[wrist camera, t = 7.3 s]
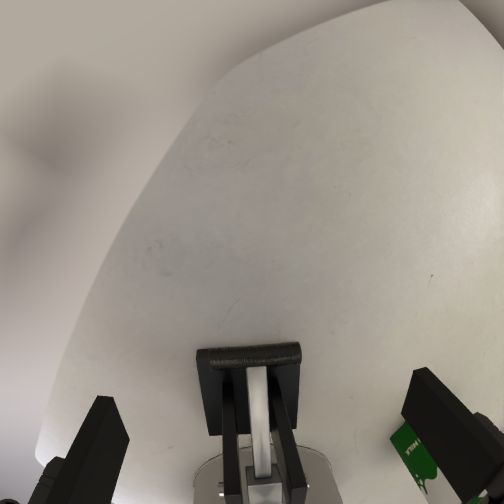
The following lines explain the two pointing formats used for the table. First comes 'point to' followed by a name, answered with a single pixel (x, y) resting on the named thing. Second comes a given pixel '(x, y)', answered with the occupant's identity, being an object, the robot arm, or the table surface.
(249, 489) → the lever handle
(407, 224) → the table surface
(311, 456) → the container
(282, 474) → the black lever switch
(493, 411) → the table surface
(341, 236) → the table surface
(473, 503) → the milk carton
